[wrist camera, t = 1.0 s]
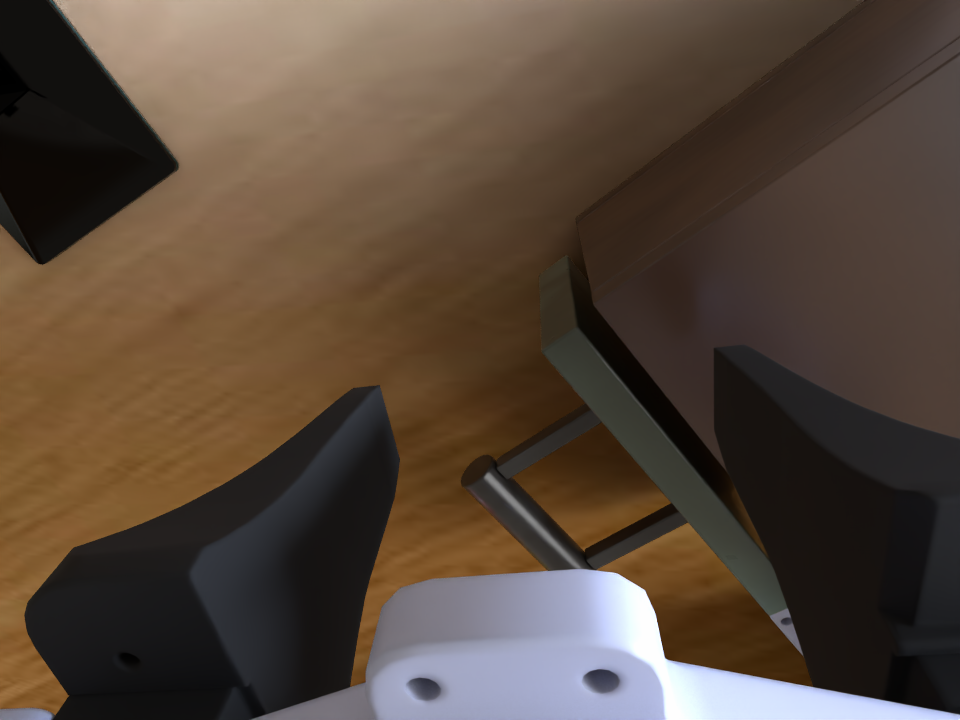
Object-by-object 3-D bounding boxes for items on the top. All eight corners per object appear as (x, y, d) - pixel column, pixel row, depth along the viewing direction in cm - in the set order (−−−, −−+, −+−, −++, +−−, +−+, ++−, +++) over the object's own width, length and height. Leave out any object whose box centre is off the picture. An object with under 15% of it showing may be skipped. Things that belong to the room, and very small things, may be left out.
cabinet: (770, 473, 26) (848, 625, 20) (574, 217, 22) (592, 304, 15) (1211, 244, 21) (1518, 349, 14) (1068, -153, 17) (1414, -260, 10)
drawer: (604, 562, 28) (620, 682, 23) (415, 364, 24) (384, 457, 19) (1123, 294, 21) (1309, 382, 16) (975, -46, 17) (1161, -70, 12)
